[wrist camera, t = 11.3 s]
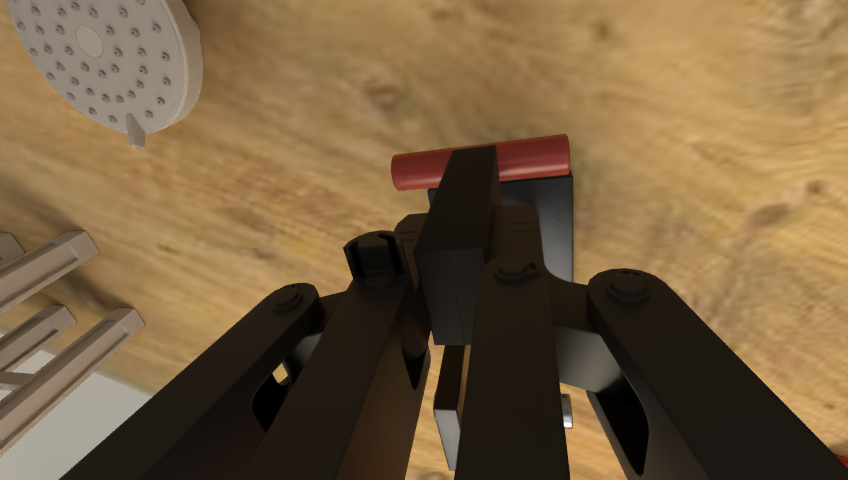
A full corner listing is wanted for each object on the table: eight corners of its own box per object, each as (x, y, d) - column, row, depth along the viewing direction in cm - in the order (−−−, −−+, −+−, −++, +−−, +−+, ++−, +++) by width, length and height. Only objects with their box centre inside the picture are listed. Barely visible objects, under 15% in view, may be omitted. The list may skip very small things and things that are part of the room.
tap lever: (402, 152, 17) (384, 157, 15) (563, 132, 15) (571, 135, 13) (439, 412, 20) (429, 448, 18) (574, 418, 19) (581, 459, 17)
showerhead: (69, 157, 23) (-65, -59, 18) (163, 123, 29) (82, -46, 24) (209, 143, 20) (101, -110, 15) (279, 108, 26) (217, -81, 21)
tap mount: (430, 182, 27) (362, 340, 15) (570, 167, 25) (627, 340, 13) (456, 316, 33) (422, 509, 21) (571, 314, 31) (610, 530, 18)
